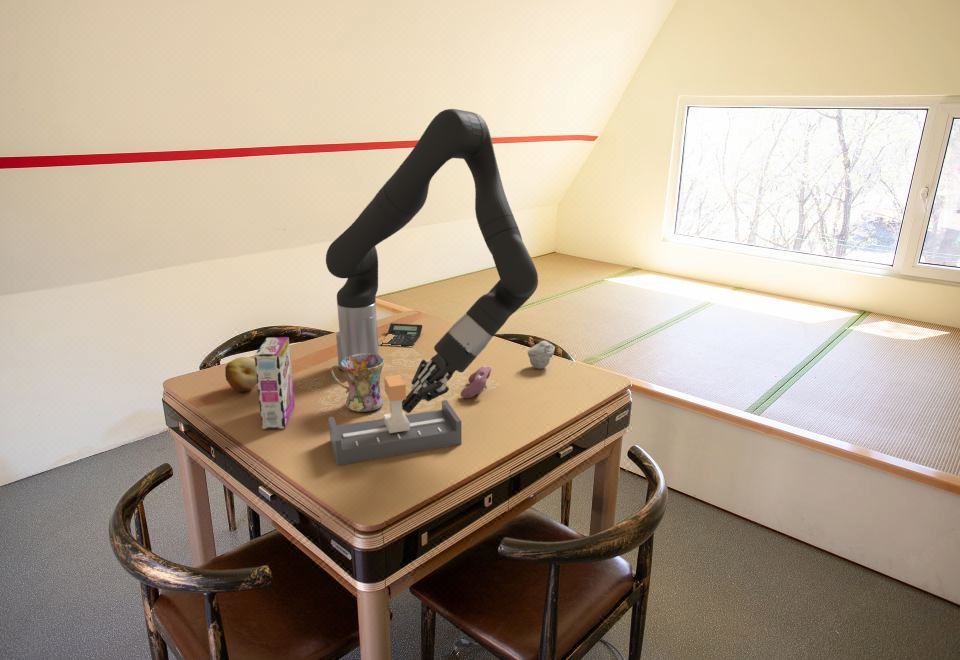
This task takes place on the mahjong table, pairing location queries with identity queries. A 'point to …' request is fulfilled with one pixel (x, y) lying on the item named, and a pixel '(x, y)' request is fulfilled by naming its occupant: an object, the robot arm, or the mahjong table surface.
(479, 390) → the pink toy animal figure
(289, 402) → the candy bar box
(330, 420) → the fader console
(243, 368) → the fruit
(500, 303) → the robot arm
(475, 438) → the mahjong table surface
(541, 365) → the grey lumpy stone
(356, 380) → the mug
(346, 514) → the mahjong table surface
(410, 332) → the calculator
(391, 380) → the fader knob
